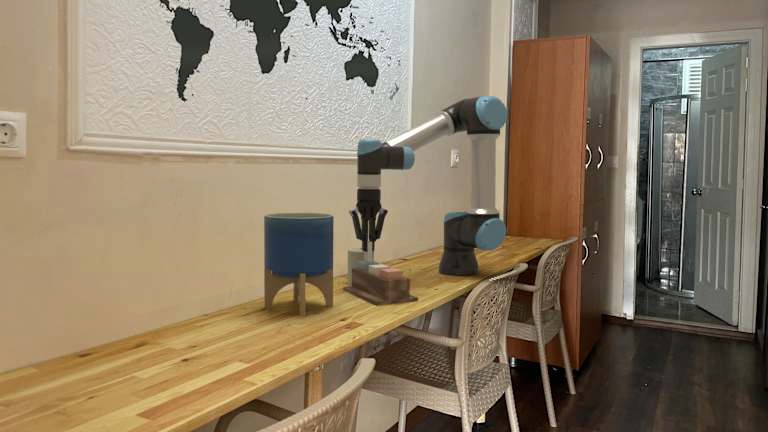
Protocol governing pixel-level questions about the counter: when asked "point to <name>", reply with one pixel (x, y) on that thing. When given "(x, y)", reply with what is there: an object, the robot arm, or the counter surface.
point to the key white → (377, 268)
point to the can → (355, 260)
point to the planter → (298, 255)
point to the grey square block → (366, 265)
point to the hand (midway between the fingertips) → (368, 261)
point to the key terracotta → (391, 274)
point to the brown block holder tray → (379, 288)
